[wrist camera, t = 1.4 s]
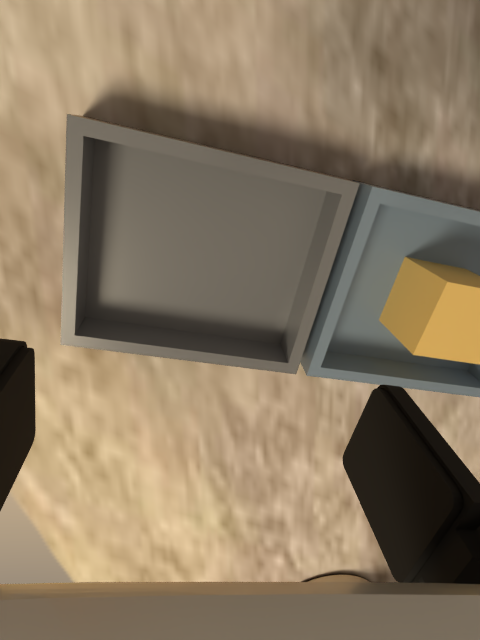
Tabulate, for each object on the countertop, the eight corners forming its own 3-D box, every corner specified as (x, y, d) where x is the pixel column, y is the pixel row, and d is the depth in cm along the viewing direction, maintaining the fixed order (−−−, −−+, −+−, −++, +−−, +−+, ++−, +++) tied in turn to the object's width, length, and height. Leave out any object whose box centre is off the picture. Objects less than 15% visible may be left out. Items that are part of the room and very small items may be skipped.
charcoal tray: (286, 352, 30) (296, 374, 27) (73, 323, 27) (60, 344, 24) (341, 177, 24) (359, 183, 22) (82, 115, 21) (66, 113, 19)
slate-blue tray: (467, 377, 33) (492, 398, 30) (296, 353, 30) (306, 375, 27) (551, 227, 28) (590, 237, 25) (352, 180, 24) (372, 186, 22)
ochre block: (436, 329, 30) (479, 364, 25) (378, 320, 29) (412, 354, 24) (466, 268, 28) (518, 295, 23) (404, 256, 27) (447, 281, 22)
